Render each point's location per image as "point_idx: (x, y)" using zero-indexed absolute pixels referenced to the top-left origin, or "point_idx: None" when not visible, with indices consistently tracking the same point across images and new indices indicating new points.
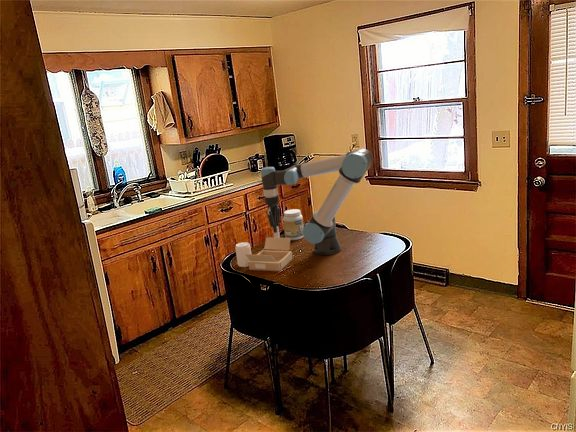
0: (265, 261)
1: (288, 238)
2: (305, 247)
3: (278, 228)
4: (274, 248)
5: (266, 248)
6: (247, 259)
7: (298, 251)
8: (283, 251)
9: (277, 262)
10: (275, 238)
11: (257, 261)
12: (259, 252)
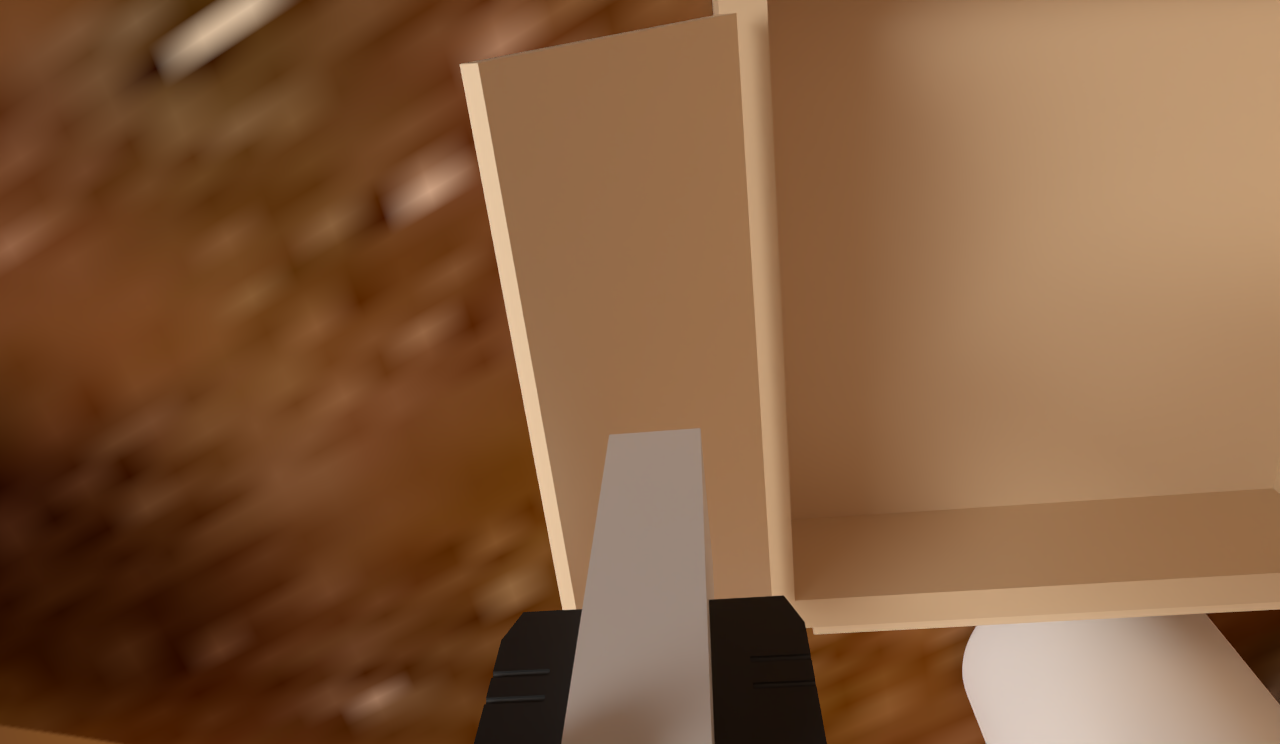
0: (957, 410)
1: (512, 139)
2: (14, 10)
3: (595, 663)
4: (751, 413)
5: (763, 577)
6: (1235, 661)
7: (271, 50)
8: (750, 166)
9: (989, 157)
10: (589, 555)
11: (1042, 519)
12: (870, 627)
